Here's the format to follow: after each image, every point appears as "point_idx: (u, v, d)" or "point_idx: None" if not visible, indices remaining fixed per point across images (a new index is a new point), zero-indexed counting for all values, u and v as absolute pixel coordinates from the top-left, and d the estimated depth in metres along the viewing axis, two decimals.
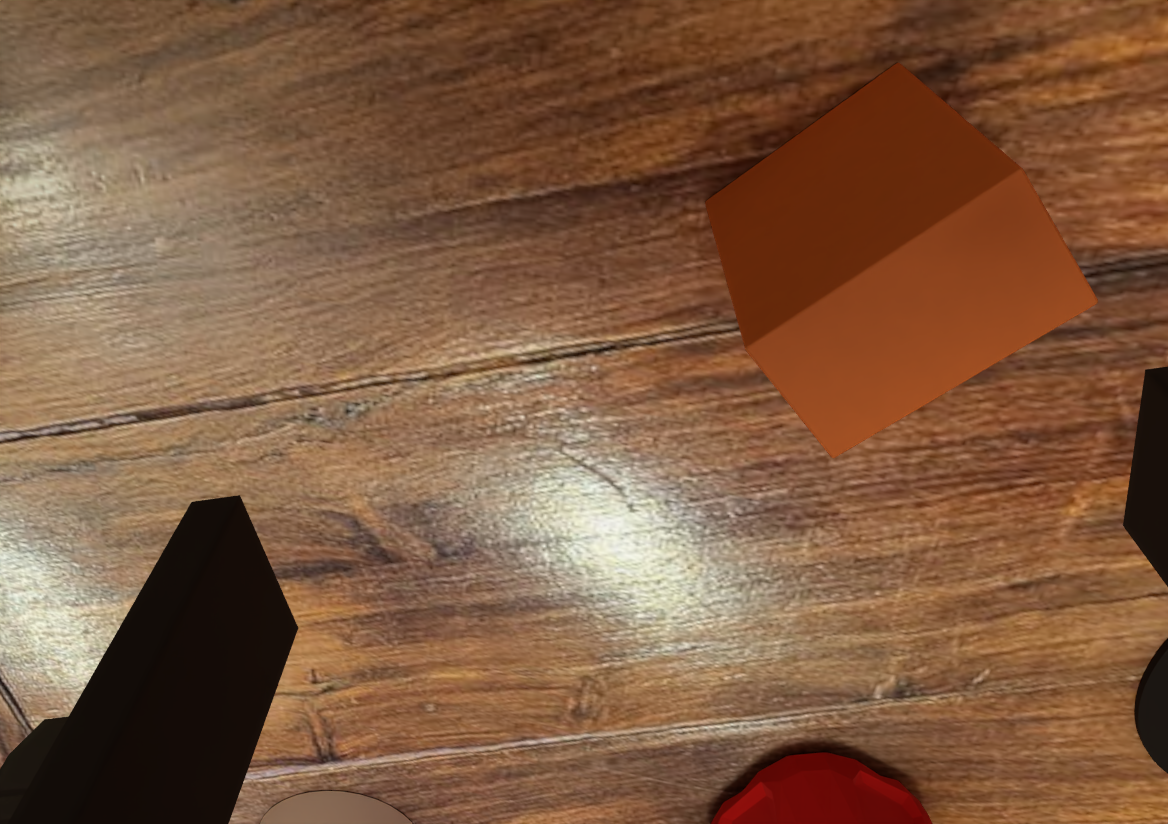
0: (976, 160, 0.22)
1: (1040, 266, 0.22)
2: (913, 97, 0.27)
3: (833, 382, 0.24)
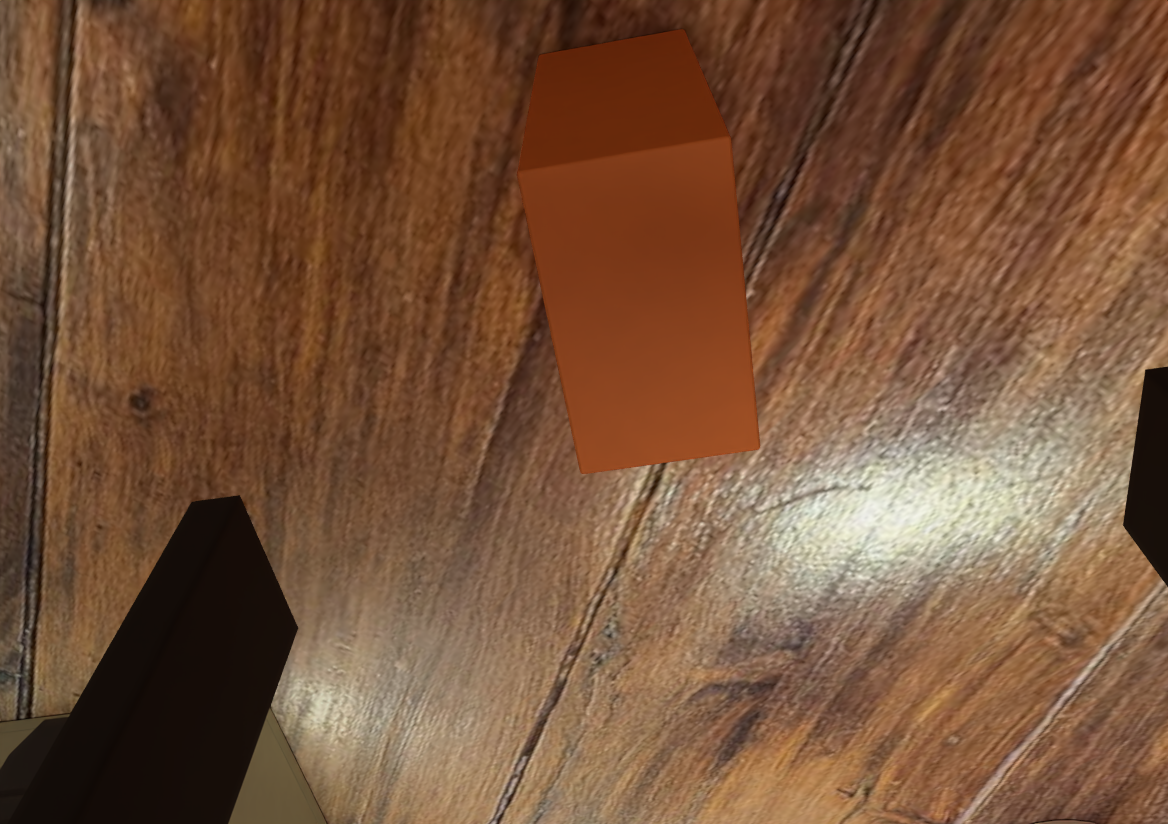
0: None
1: (645, 186, 0.18)
2: None
3: (666, 418, 0.21)
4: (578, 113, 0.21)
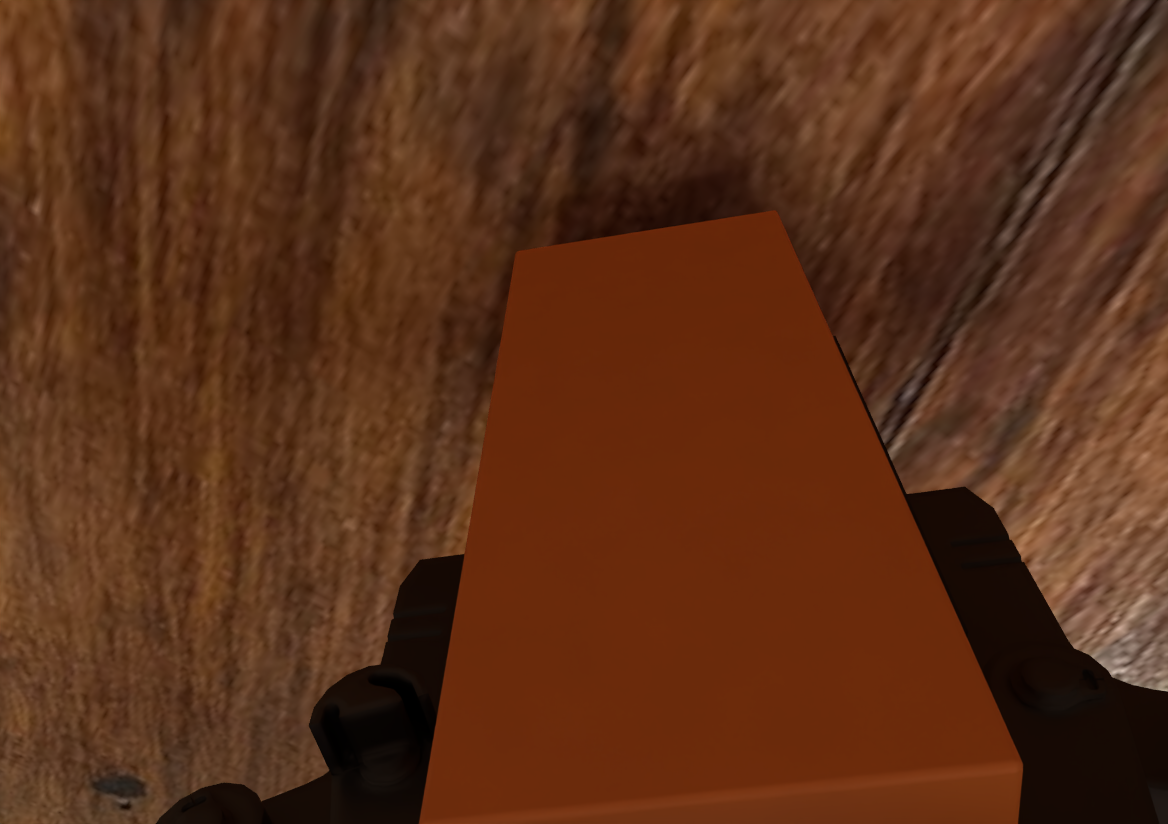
0: None
1: None
2: None
3: None
4: (587, 506, 0.09)
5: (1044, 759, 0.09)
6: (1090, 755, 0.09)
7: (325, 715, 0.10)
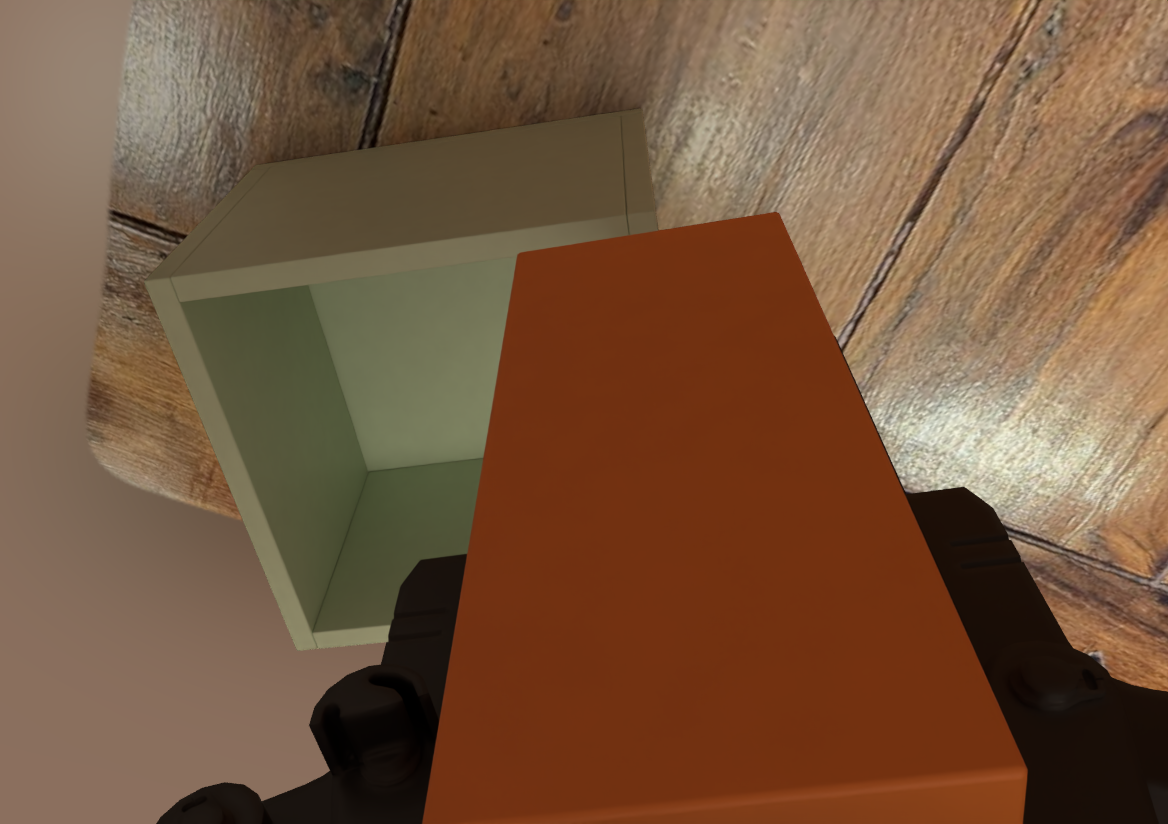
0: None
1: None
2: None
3: None
4: (589, 509, 0.09)
5: (1043, 759, 0.09)
6: (1089, 755, 0.09)
7: (325, 714, 0.10)
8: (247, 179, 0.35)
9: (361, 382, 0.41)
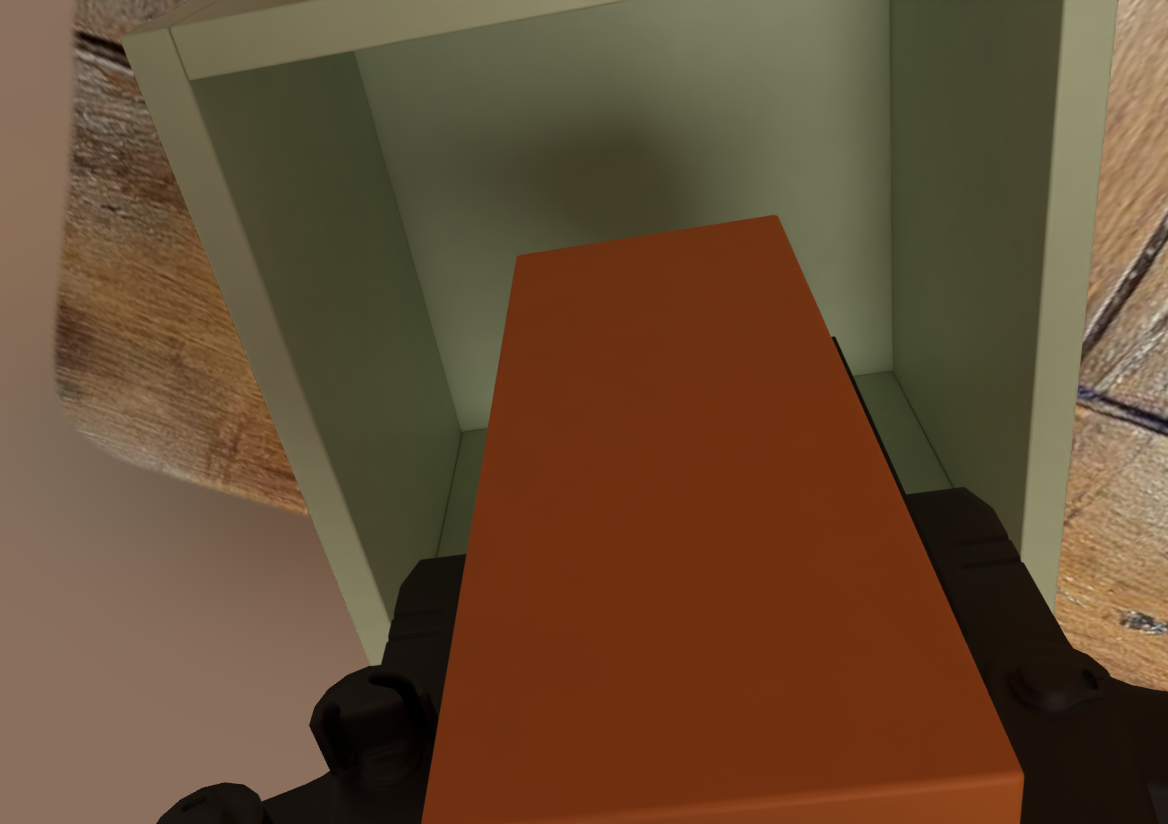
0: None
1: None
2: None
3: None
4: (588, 512, 0.09)
5: (1043, 759, 0.09)
6: (1089, 755, 0.09)
7: (325, 714, 0.10)
8: None
9: (456, 297, 0.28)
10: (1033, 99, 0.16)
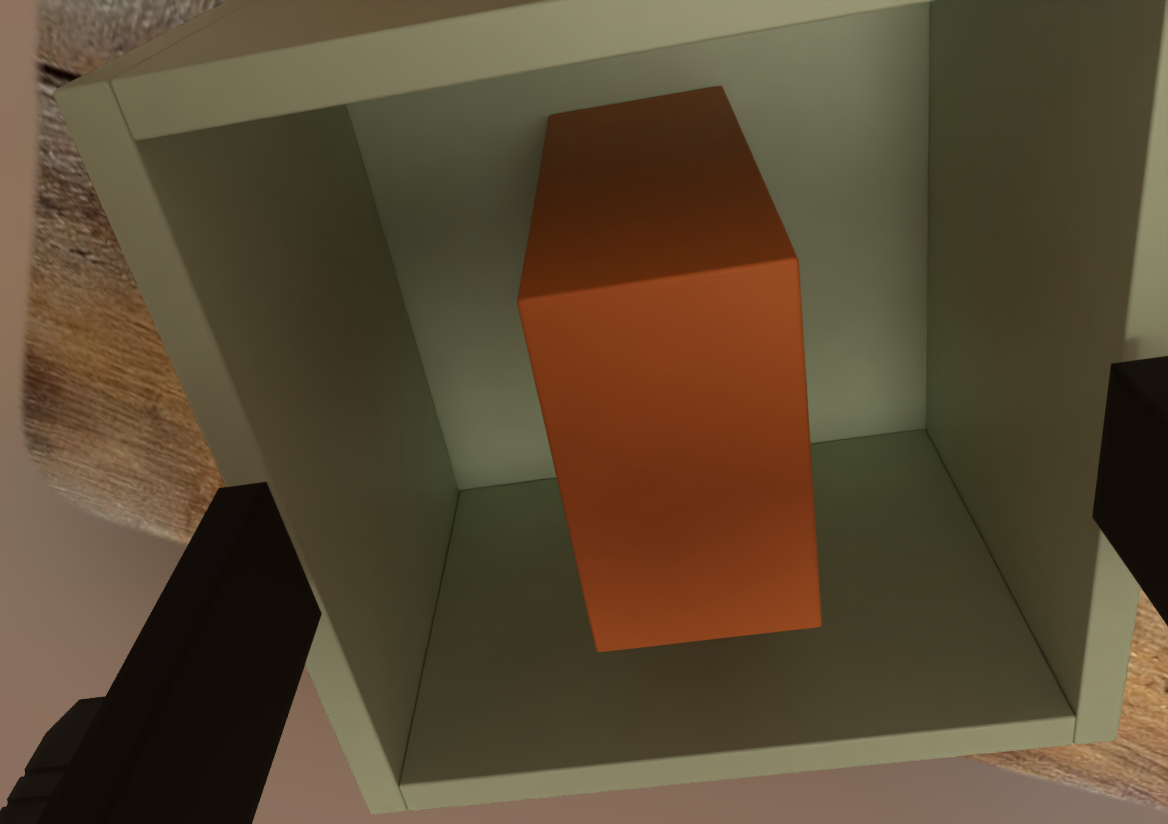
0: None
1: (684, 319, 0.14)
2: None
3: (703, 591, 0.17)
4: (596, 207, 0.17)
5: None
6: None
7: None
8: None
9: (453, 349, 0.26)
10: (1114, 161, 0.14)
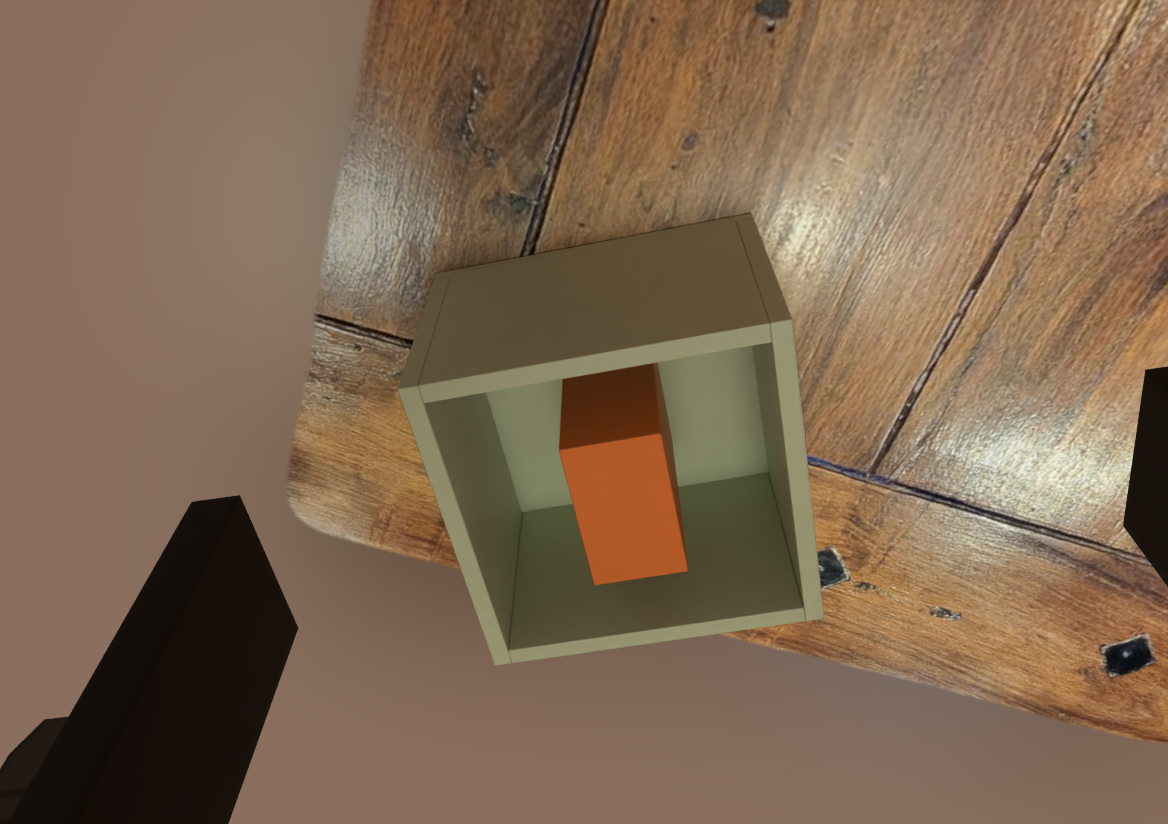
0: None
1: (621, 454, 0.38)
2: None
3: (637, 557, 0.41)
4: (588, 400, 0.41)
5: None
6: None
7: None
8: (436, 288, 0.44)
9: (518, 440, 0.50)
10: (776, 394, 0.38)
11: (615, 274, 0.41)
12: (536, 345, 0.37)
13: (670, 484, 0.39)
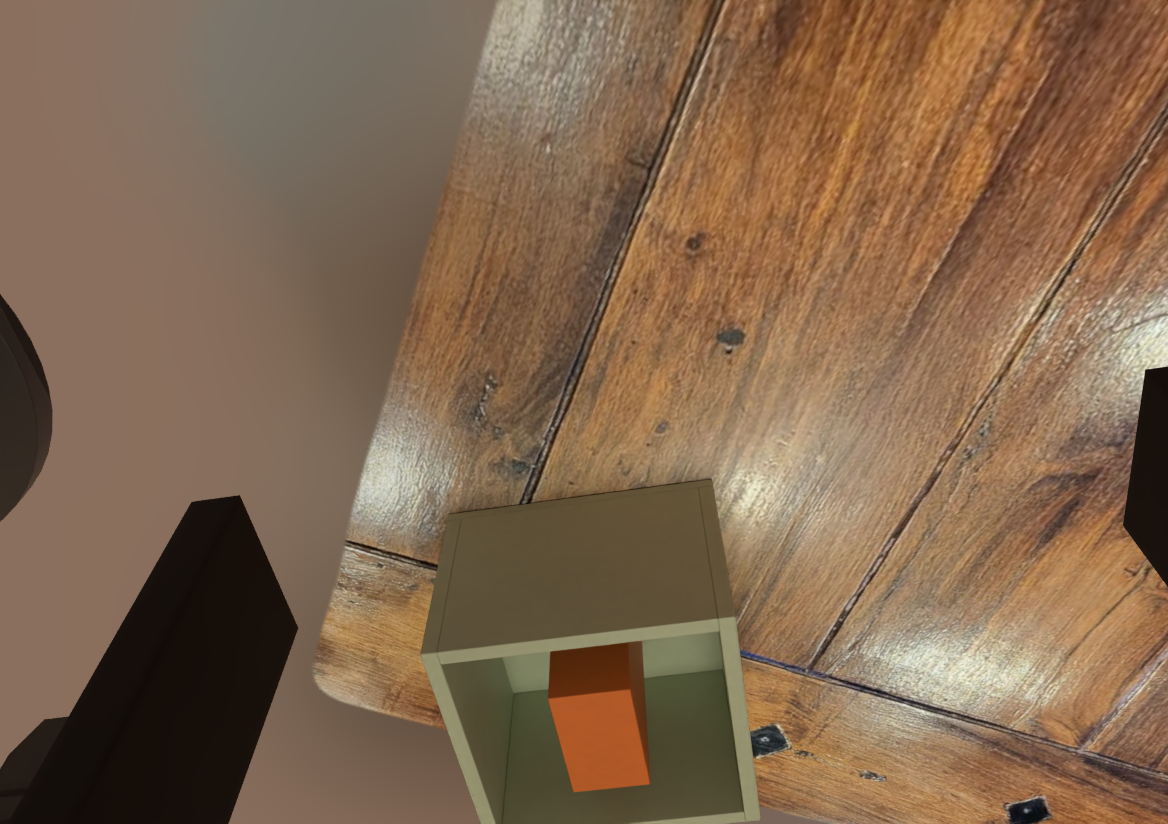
0: None
1: (598, 703, 0.47)
2: None
3: (609, 774, 0.50)
4: None
5: None
6: None
7: None
8: (449, 534, 0.53)
9: None
10: None
11: (597, 539, 0.51)
12: (532, 618, 0.46)
13: (637, 723, 0.48)
